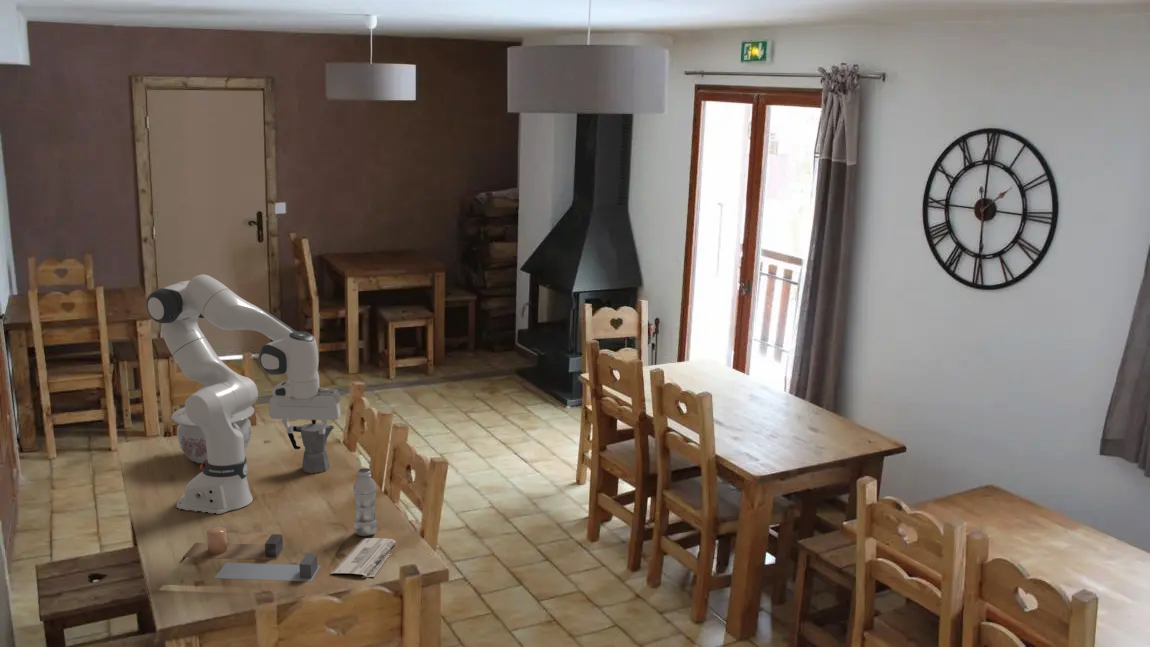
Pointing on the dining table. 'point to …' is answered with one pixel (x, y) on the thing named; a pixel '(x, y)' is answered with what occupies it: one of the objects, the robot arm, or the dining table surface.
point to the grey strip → (272, 570)
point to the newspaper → (366, 557)
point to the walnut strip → (242, 550)
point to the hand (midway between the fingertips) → (306, 433)
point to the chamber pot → (194, 438)
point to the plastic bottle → (365, 503)
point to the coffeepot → (313, 446)
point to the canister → (217, 540)
